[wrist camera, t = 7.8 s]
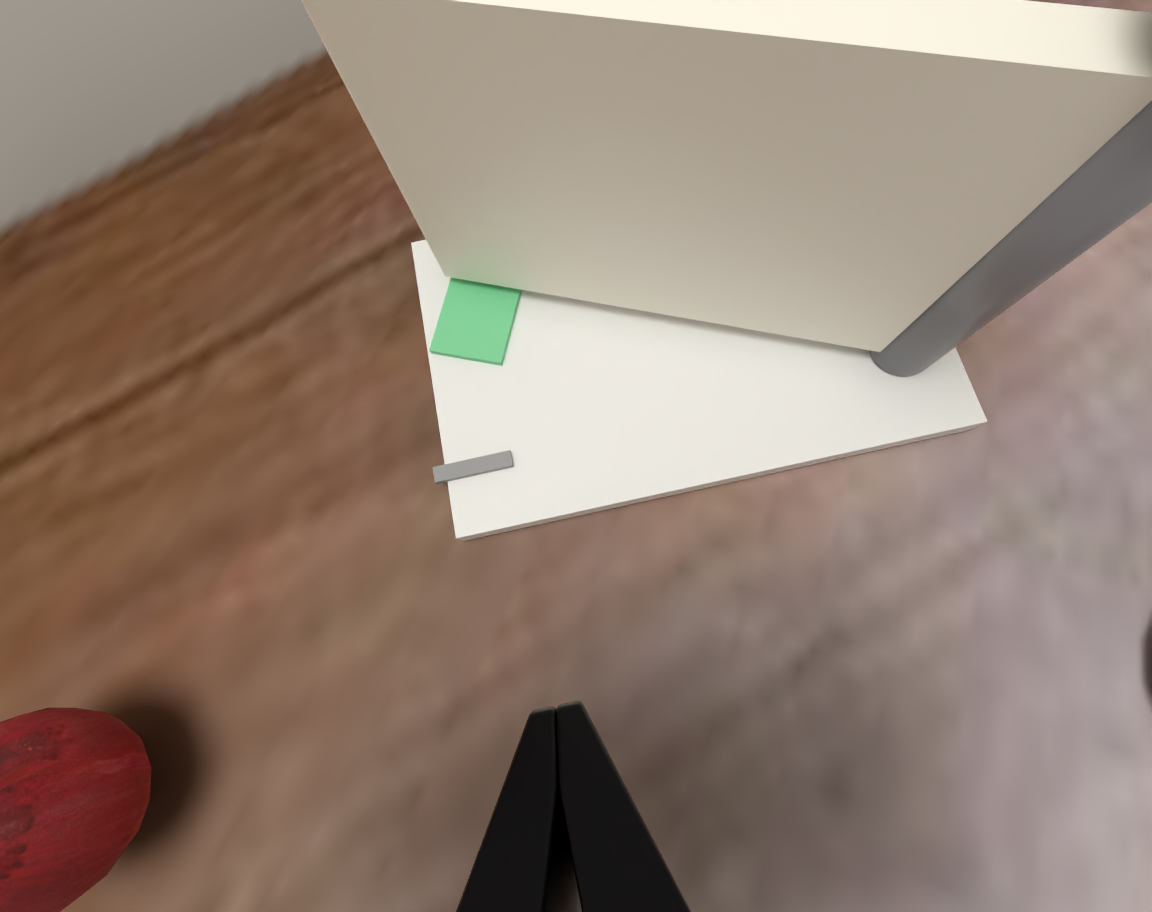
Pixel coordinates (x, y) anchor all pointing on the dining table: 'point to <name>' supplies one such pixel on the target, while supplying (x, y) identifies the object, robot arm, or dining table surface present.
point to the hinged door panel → (760, 152)
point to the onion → (66, 804)
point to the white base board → (644, 402)
